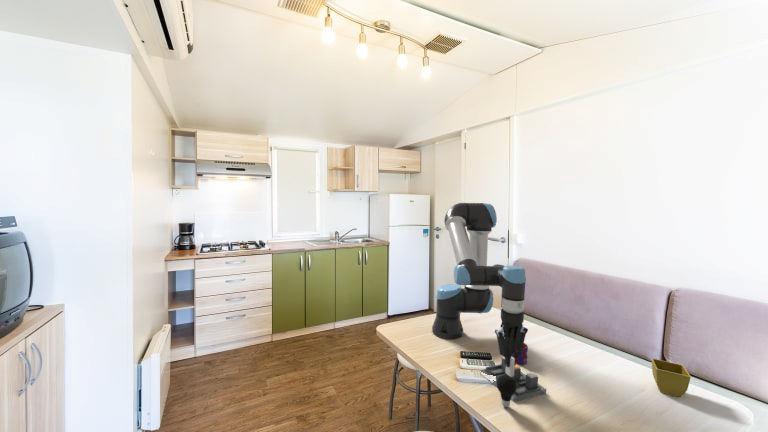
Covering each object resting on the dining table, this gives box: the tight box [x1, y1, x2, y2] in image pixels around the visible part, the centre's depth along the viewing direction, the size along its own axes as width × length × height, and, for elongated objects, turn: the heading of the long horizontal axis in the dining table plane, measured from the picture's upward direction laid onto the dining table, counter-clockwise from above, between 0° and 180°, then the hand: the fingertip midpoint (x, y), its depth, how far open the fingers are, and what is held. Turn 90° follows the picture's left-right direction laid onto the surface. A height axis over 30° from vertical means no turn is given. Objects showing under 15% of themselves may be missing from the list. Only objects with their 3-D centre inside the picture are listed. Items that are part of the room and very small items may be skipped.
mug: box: [516, 342, 529, 366], centre depth 128 cm, size 7×10×7 cm
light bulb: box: [496, 375, 516, 408], centre depth 97 cm, size 6×6×10 cm
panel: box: [480, 363, 547, 402], centre depth 111 cm, size 17×14×2 cm
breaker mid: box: [512, 364, 522, 380], centre depth 111 cm, size 2×3×4 cm
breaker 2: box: [525, 371, 539, 389], centre depth 106 cm, size 2×3×4 cm
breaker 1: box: [500, 356, 506, 370], centre depth 117 cm, size 2×3×4 cm
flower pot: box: [651, 358, 691, 398], centre depth 107 cm, size 9×9×9 cm
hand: (509, 374), depth 110 cm, fingers closed
